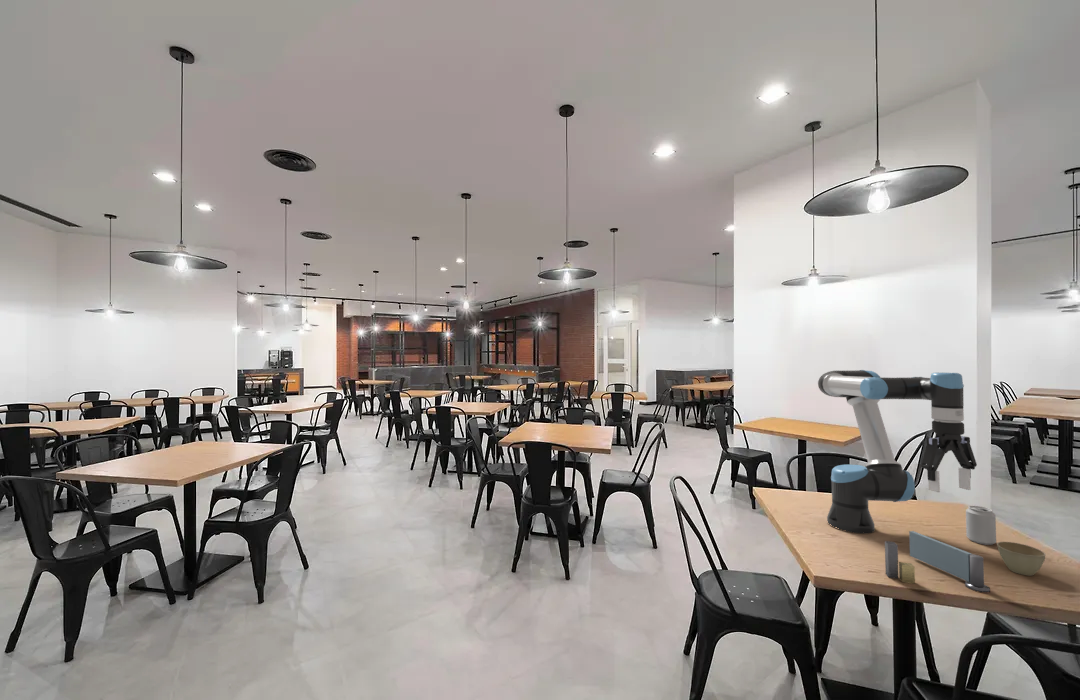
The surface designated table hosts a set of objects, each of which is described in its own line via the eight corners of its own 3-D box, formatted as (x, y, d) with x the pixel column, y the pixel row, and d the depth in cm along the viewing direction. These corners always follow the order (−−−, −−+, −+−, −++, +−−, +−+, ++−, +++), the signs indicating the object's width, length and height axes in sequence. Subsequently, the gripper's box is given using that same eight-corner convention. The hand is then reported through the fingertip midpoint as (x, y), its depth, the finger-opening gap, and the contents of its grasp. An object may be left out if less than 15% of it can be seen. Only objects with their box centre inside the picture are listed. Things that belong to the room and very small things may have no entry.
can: (1002, 546, 150) (1001, 512, 150) (977, 545, 152) (976, 510, 152) (985, 538, 158) (984, 504, 158) (961, 536, 159) (960, 503, 159)
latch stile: (891, 580, 128) (890, 546, 128) (885, 573, 132) (884, 540, 132) (914, 583, 126) (914, 549, 126) (908, 576, 130) (907, 543, 130)
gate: (986, 586, 122) (986, 558, 123) (978, 587, 122) (978, 559, 122) (915, 555, 142) (914, 530, 142) (908, 556, 142) (907, 531, 142)
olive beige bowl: (988, 564, 137) (987, 542, 137) (1016, 563, 138) (1016, 540, 138) (1026, 580, 127) (1025, 556, 127) (1056, 579, 128) (1055, 555, 128)
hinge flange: (965, 588, 123) (965, 585, 123) (964, 581, 127) (964, 579, 127) (990, 594, 120) (990, 591, 120) (988, 587, 124) (988, 584, 124)
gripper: (929, 423, 132) (931, 495, 131) (991, 421, 136) (993, 491, 135) (904, 420, 139) (906, 488, 139) (964, 418, 143) (966, 484, 143)
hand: (949, 489), depth 137 cm, fingers open, 11 cm apart
